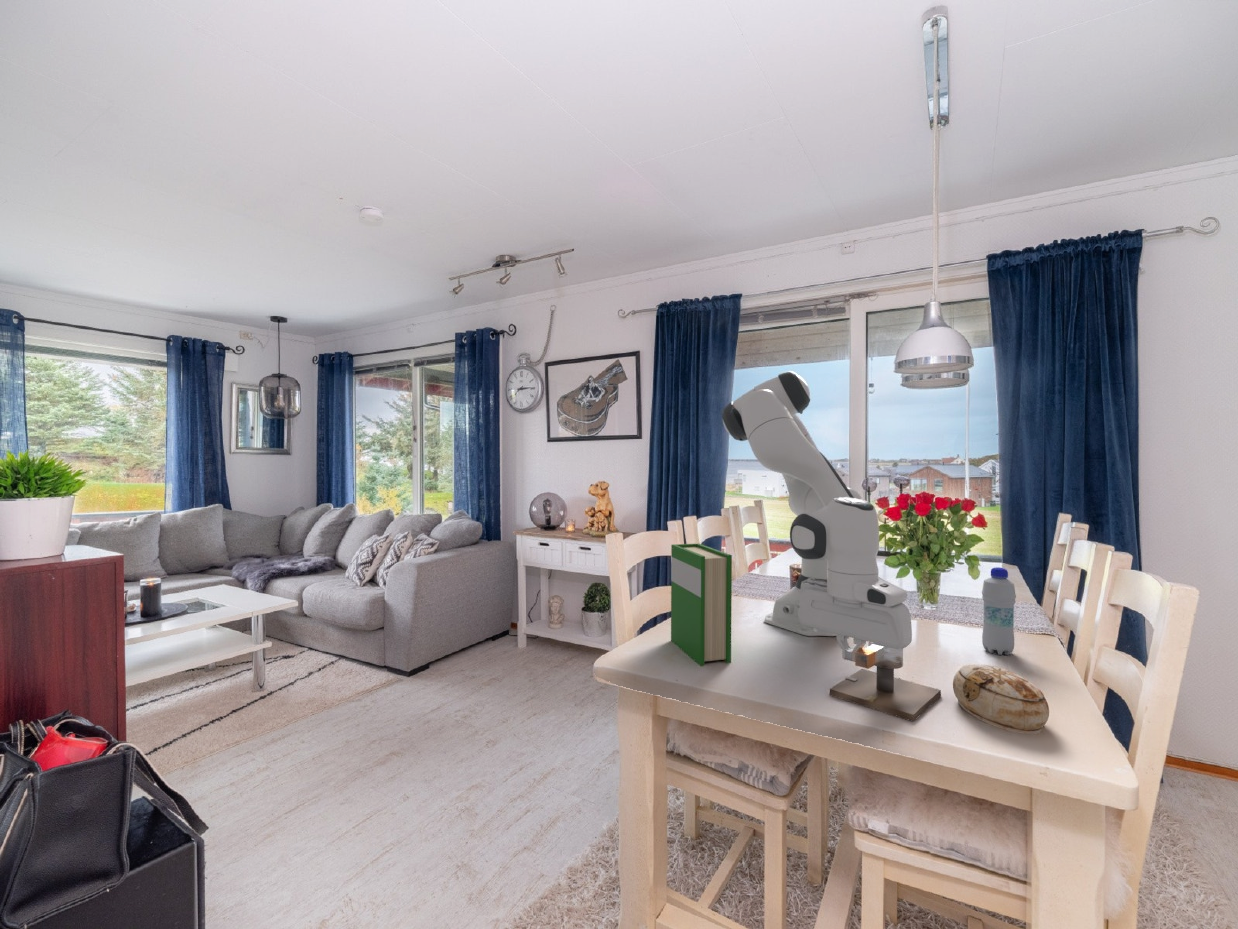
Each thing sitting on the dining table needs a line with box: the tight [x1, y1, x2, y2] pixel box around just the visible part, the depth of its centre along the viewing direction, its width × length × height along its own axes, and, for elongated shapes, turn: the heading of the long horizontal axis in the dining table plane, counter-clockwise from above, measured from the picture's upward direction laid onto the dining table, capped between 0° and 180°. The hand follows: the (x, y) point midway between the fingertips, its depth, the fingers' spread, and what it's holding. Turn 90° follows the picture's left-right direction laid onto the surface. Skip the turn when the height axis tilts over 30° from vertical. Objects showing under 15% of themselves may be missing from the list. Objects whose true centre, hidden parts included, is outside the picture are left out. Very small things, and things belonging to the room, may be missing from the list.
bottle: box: [981, 566, 1017, 656], centre depth 132 cm, size 7×7×20 cm
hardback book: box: [670, 543, 733, 667], centre depth 132 cm, size 18×7×24 cm, turn 16°
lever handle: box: [854, 642, 904, 670], centre depth 105 cm, size 13×6×4 cm, turn 132°
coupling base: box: [829, 666, 942, 722], centre depth 107 cm, size 15×15×6 cm
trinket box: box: [952, 663, 1050, 735], centre depth 100 cm, size 13×15×8 cm
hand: (850, 660), depth 104 cm, fingers closed
